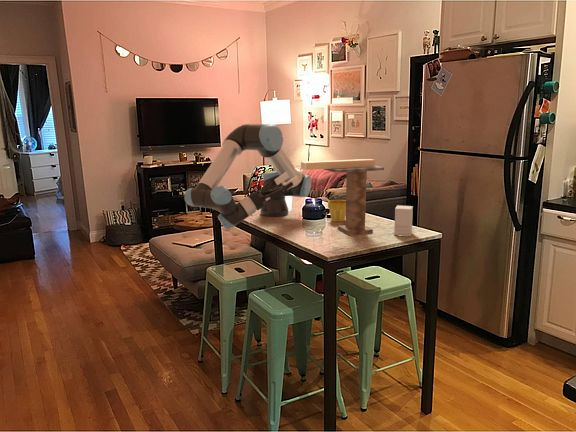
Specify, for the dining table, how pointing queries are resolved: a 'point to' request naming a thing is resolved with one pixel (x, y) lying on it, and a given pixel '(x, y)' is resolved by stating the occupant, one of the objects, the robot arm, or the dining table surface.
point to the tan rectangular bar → (337, 164)
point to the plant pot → (337, 210)
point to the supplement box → (403, 220)
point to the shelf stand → (355, 199)
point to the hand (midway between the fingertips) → (292, 176)
